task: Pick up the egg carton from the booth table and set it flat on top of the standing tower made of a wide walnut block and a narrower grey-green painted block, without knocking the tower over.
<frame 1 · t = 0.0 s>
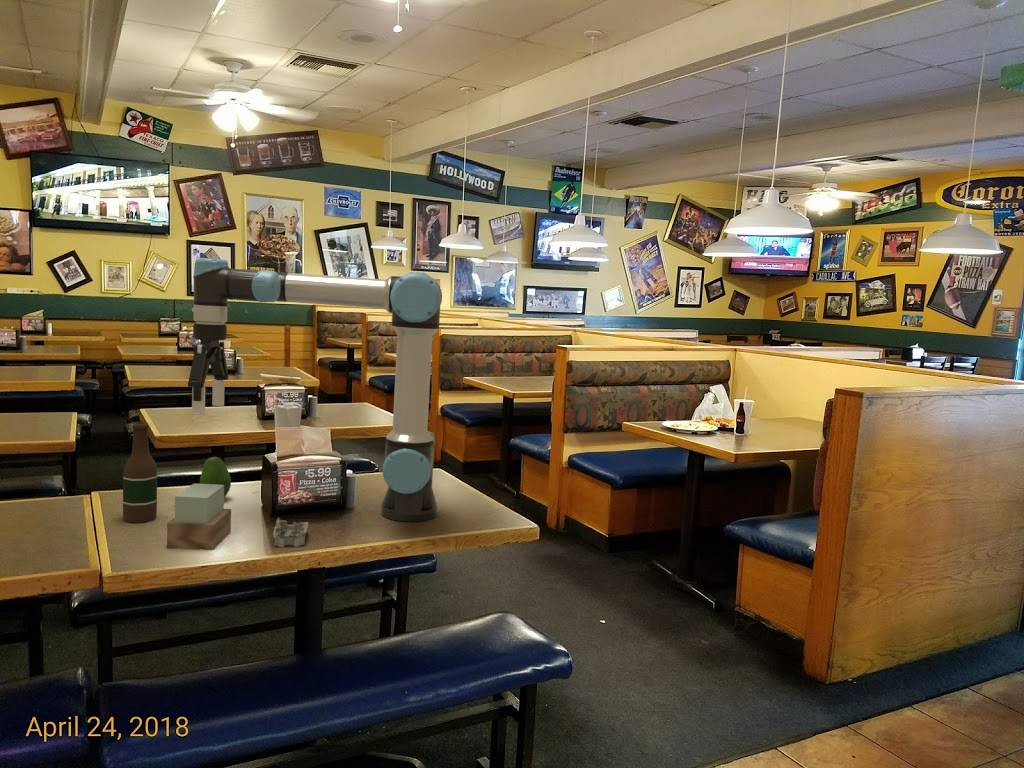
hand: (208, 410, 176), 28 cm above the table, tool pointing down, fingers open, 13 cm apart
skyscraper: (285, 495, 205), on the table
beer bottle: (140, 519, 177), on the table
tower base block: (199, 541, 166), on the table, touching tower top block
fruit: (215, 500, 196), on the table
tower top block: (199, 515, 165), point 6 cm above the table, touching tower base block
egg carton: (290, 541, 170), on the table
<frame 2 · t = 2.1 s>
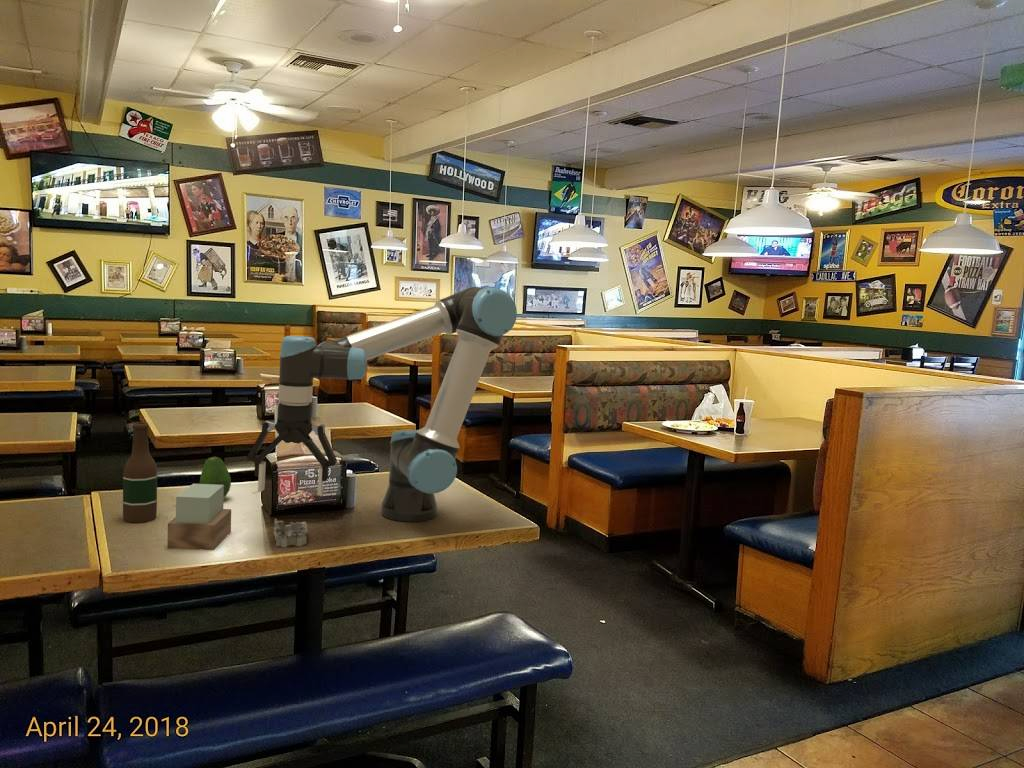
hand: (290, 492, 169), 11 cm above the table, tool pointing down, fingers open, 13 cm apart
nothing on the table moved.
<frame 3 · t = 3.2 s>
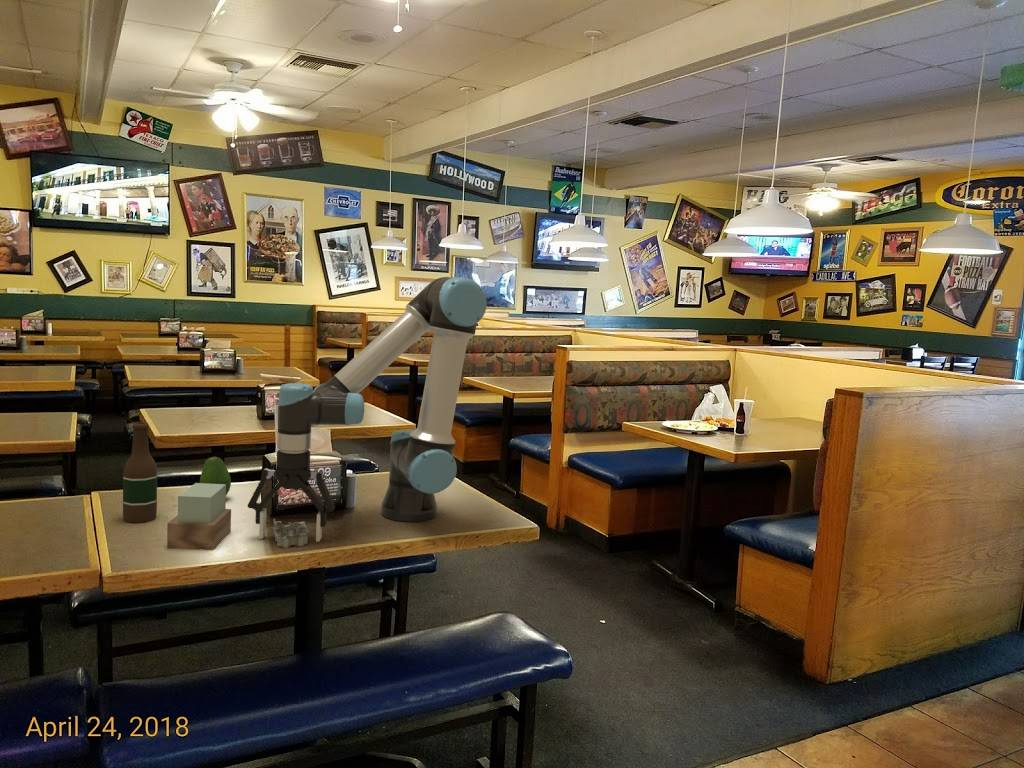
hand: (290, 538, 170), 0 cm above the table, tool pointing down, fingers open, 12 cm apart
nothing on the table moved.
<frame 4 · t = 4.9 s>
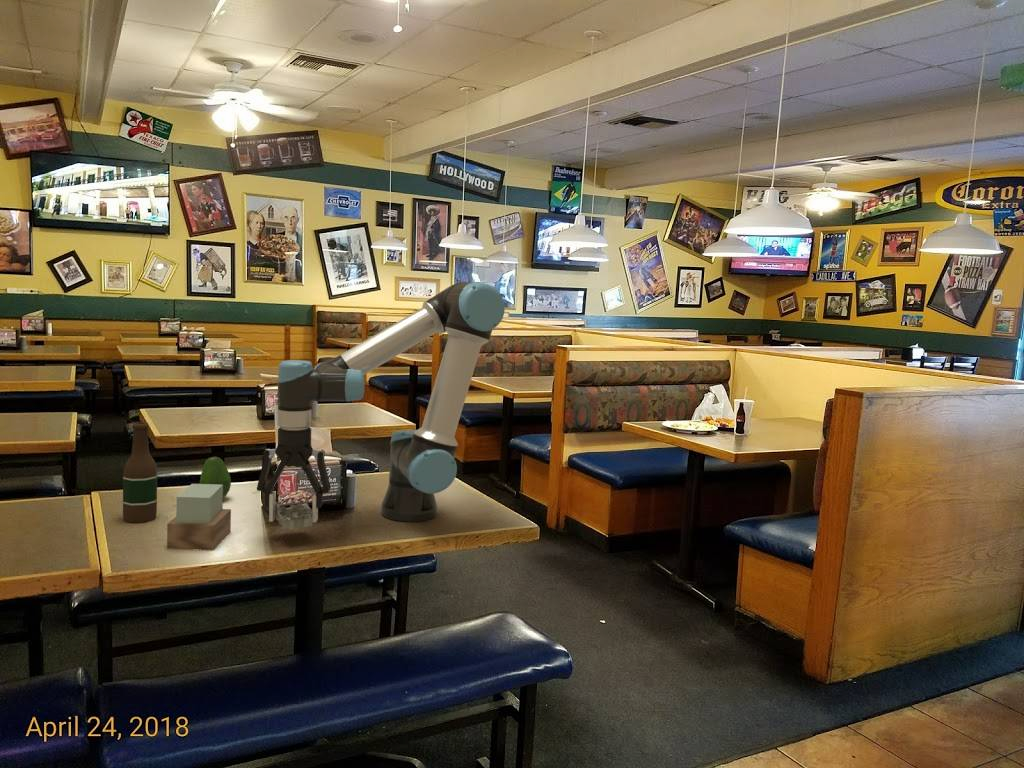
hand: (293, 520, 170), 5 cm above the table, tool pointing down, fingers closed on egg carton, 9 cm apart
egg carton: (294, 523, 170), point 4 cm above the table, touching gripper
everything else where it was.
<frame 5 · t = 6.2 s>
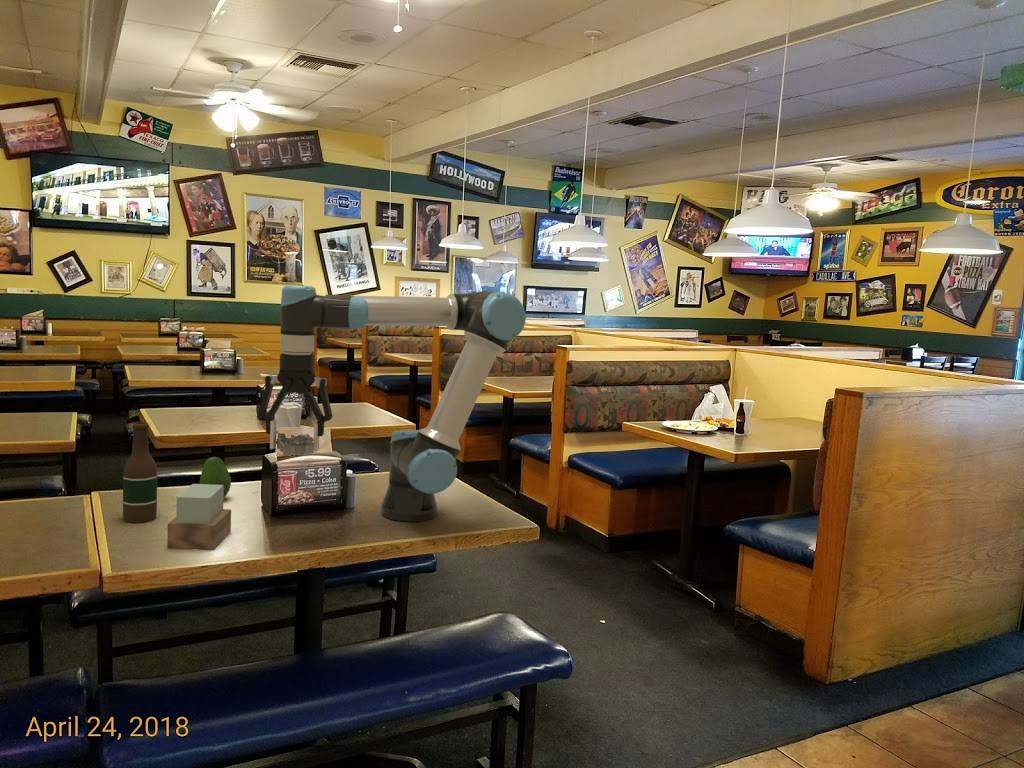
hand: (294, 448, 168), 22 cm above the table, tool pointing down, fingers closed on egg carton, 9 cm apart
egg carton: (295, 451, 168), point 21 cm above the table, touching gripper
everything else where it was.
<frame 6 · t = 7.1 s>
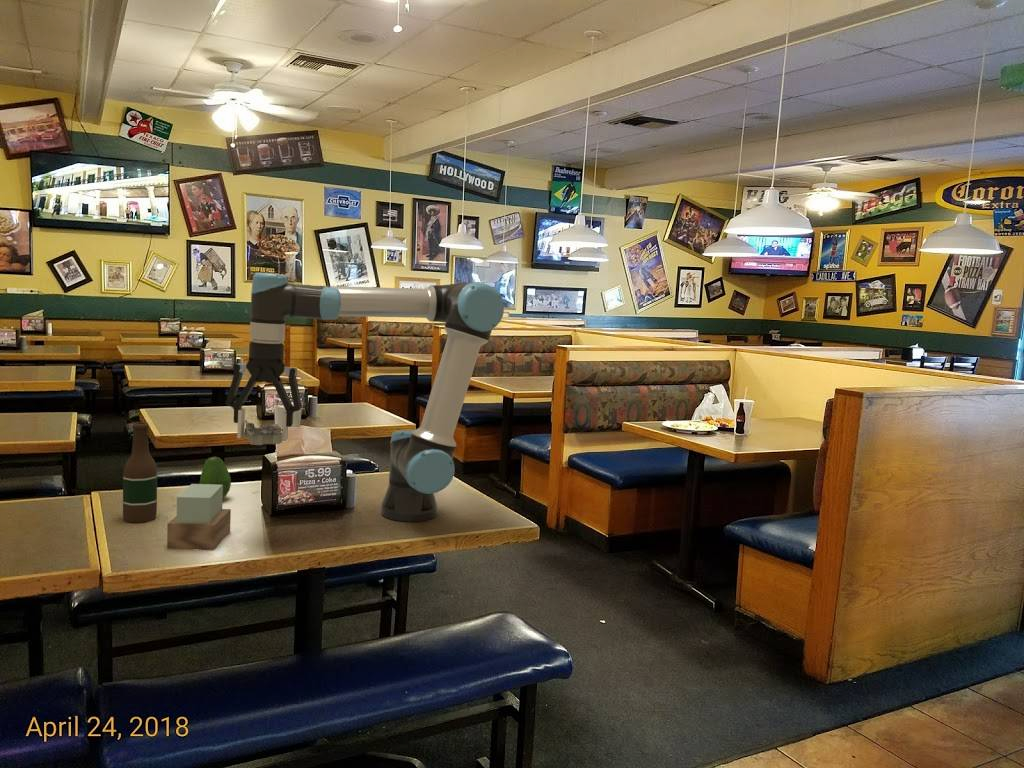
hand: (262, 438, 166), 24 cm above the table, tool pointing down, fingers closed on egg carton, 9 cm apart
egg carton: (263, 441, 166), point 24 cm above the table, touching gripper
everything else where it was.
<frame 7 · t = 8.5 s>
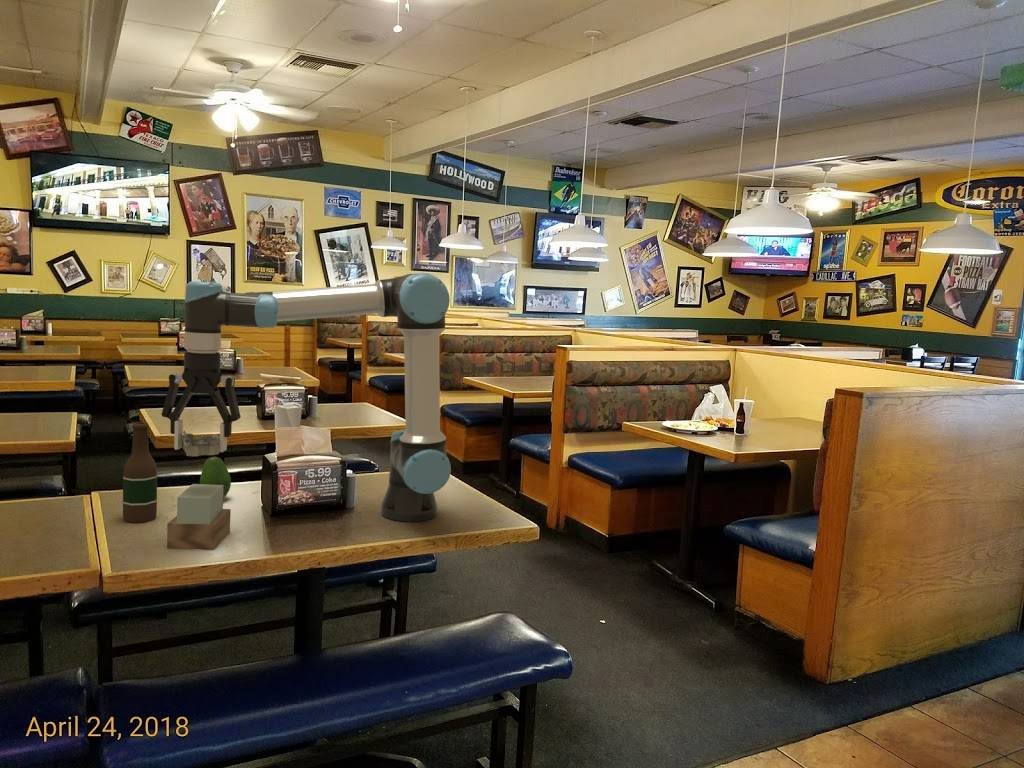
hand: (200, 449, 163), 21 cm above the table, tool pointing down, fingers closed on egg carton, 9 cm apart
egg carton: (201, 452, 163), point 21 cm above the table, touching gripper
everything else where it was.
when the fingers open (14 cm above the table, at t = 10.2 s): egg carton drops 2 cm, resting on tower top block.
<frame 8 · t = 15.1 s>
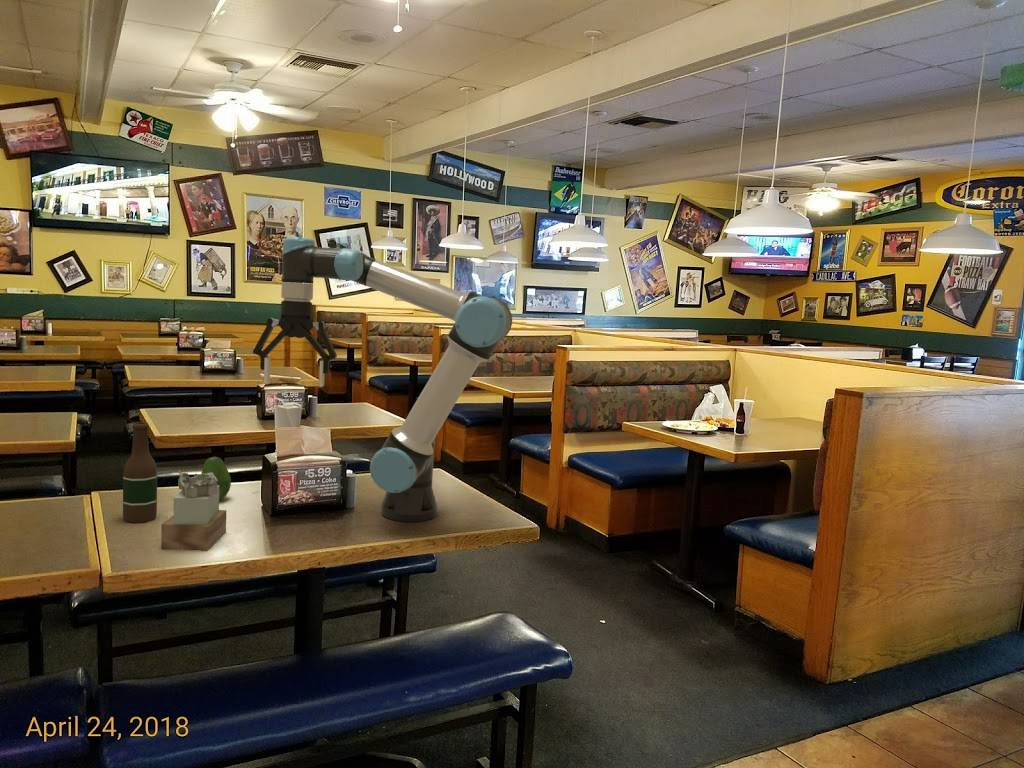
hand: (294, 384, 182), 35 cm above the table, tool pointing down, fingers open, 13 cm apart
tower base block: (194, 542, 165), on the table
tower top block: (196, 516, 164), point 6 cm above the table, touching egg carton
egg carton: (198, 492, 164), point 11 cm above the table, touching tower top block
everything else where it was.
at the end: egg carton 0.4 cm off-centre on the tower top block, point 5.8 cm above the tower top block's base; tower top block point 5.6 cm above the table; tower top block tilted 0° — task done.
